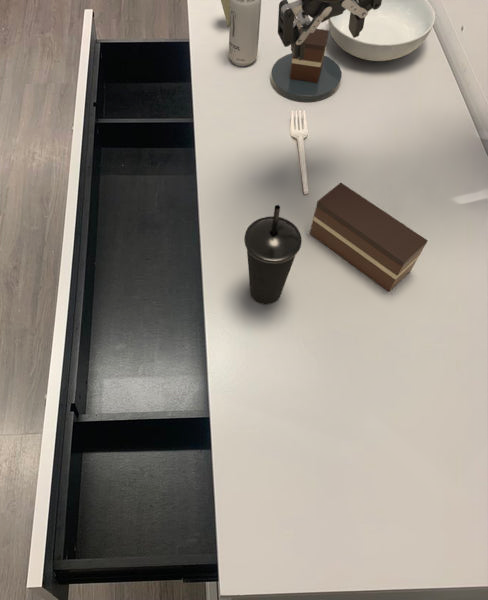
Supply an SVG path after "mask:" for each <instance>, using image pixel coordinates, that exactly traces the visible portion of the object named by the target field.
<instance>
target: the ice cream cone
mask: <svg viewBox="0 0 488 600" xmlns="http://www.w3.org/2000/svg"><path fill="white" fill-rule="evenodd" d="M220 2H221V7H222V10H223V14H224V17H225V22H226V24H227V25H226V26H227V28H229V23H230V0H220Z"/></svg>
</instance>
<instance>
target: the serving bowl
mask: <svg viewBox="0 0 488 600" xmlns="http://www.w3.org/2000/svg"><path fill="white" fill-rule="evenodd" d="M350 13H351V12H350V11H349V10H347V9H346V10H345V11H343V14H341V15H338V16H334V17H331V18H330V19H328V20H327V21H328V28H329V33H330V35H331V37H332V39H333V40H334V42H335V43H336V44H337V46H339V47H340V48H341V49H342V50H343V51H345V52H346V53H348V54H349V55H351V56H354V57H356V58H359V59H362V60H365V61H374V62H385V61H392V60H396V59H399V58H402V57H405V56H406V55H408V54H410V53H412V52H415V50H416V49H418V48H419V47H420V46H421V45H422V44H423V43H425V41H426V39H427V38H428V36H429V35H430V33H431V31H432V30H433V28H434V25H435V22H436V13H435V10H434V7H433V6H432V4H431V3H430V2H429V1H428V0H382V2H381V6H380V7H379V8H378V9H376V10H373V8H372V9H371V10H369V11H368V15H367V16H366V17H365V21H364V26H363V29H362V31H361V32H360V33H359V36H358V37H355V38H353V36H352V34H351V32H350V31H349V20H350Z"/></svg>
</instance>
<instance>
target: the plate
mask: <svg viewBox="0 0 488 600" xmlns="http://www.w3.org/2000/svg"><path fill="white" fill-rule="evenodd" d="M292 58H293V53H292V52H291V53H288V54H285V55H284V56H282V57H280V58H278V60H277V61H275V63H274V64H273V65H272V68H271V72H270V73H271V74H270V82H271V85H272V87H273V89H274V90H275V91H276V92H277V93H278V94H279V95H280V96H282V97H284V98H286V99H288V100H291V101H294V102H300V103H313V102H319V101H323V100H326V99H328V98H330V97H331V96H333V95H334V94H335V93H336V92H337V91H338V89H339V87H340V85H341V81H342V77H343V76H342V74H343V73H342V70H341V67H340V66H339V65H338V63H337V62H336V61H335V60H333V59H332V58H331V57H329V56H328V55H325V54H324V60H323V65H322V69H321V73H320V76H319V80H318V83H315V82H308V81H302V80H295V79H290V73H291V65H292Z"/></svg>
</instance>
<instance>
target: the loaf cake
mask: <svg viewBox="0 0 488 600" xmlns="http://www.w3.org/2000/svg"><path fill="white" fill-rule="evenodd" d="M309 230H310V231H309V234H310V235H311V236H312V237H314V238H315V239H317V240H318V241H319V242H321V243H322V244H323V245H324V246H326V247H328V248H329V249H330V250H331V251H333V252H334V253H335V254H337V255H338V256H340V257H341V258H342V259H343V260H344V261H346V262H348V263H349V264H350V265H352V267H354V268H356V269H357V270H358V271H360V272H361V273H363V274H364V275H365V276H366V277H368V278H369V279H371V280H372V281H373V282H374V283H376V284H377V285H379V286H380V287H381V288H382V289H384V290H385V291H387V292H388V293H390V292H391V291H392V290H393V289H394V288H395V287H396V286H397V285H398V284H399V283H400V282H401V281H402V280H403V279H404V278H405V277H406V276H407V275H409V273H410V272H411V271H412V269H413V268H414V266H415V264H416V262H417V261H418V259H419V257H420V255H421V253H422V252H423V250H424V248H425V246H426V245H427V243H428V240H427V239H426V238H424V237H423V236H422V235H421V234H419V233H418V232H416V231H414V230H413V229H412V228H410V227H408V226H407V225H405V224H404V223H402V222H401V221H400V220H398V219H397V218H395V217H394V216H392V215H390V214H389V213H387V212H386V211H384V210H383V209H382V208H380V207H378V206H377V205H375V204H374V203H372V202H371V201H369V200H368V199H367V198H365V197H363V196H361V194H359V193H357V192H356V191H355V190H353V189H351V188H350V187H348V186H347V185H346V184H344V183H343V182H340V183H338V184H337V185H335V186H334V187H333V188H332V189H331V190H330V191H328V192H327V193H325V195H323V196H322V197H320V199H318V200H317V201H316V206H315V210H314V214H313V218H312V223H311V226H310V229H309Z"/></svg>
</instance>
